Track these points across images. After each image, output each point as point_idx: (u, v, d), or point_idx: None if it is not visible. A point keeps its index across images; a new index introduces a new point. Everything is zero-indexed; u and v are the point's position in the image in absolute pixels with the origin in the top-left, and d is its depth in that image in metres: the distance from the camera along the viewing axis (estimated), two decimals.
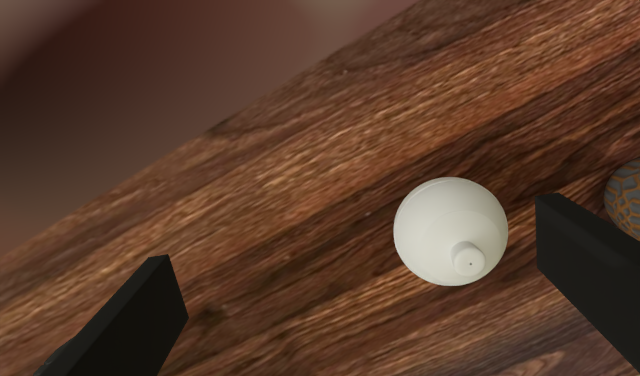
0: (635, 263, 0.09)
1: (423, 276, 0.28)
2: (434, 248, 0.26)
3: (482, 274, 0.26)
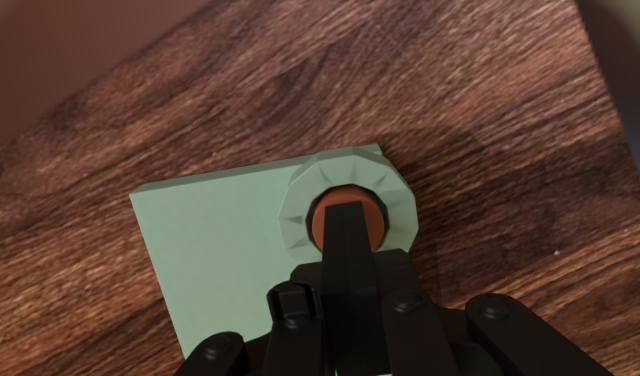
0: (348, 257, 0.12)
1: None
2: None
3: None
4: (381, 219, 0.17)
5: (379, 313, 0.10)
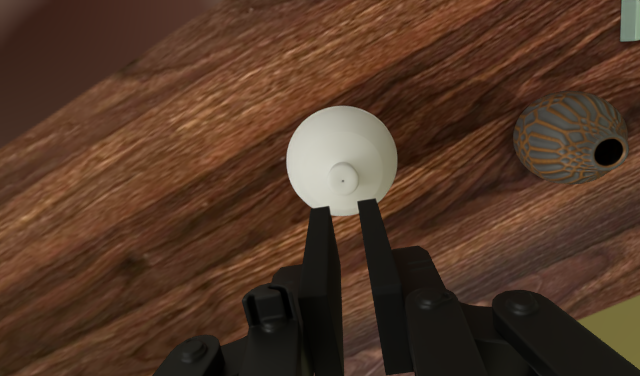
0: (367, 254, 0.12)
1: (312, 204, 0.28)
2: (314, 170, 0.26)
3: (366, 199, 0.26)
4: None
5: (402, 310, 0.10)
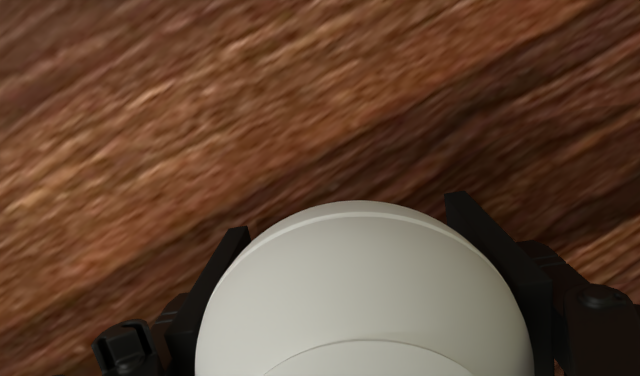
0: (491, 249, 0.11)
1: None
2: None
3: None
4: None
5: (549, 310, 0.09)
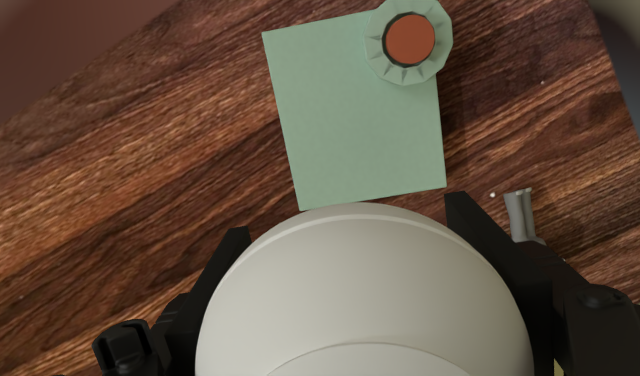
0: (491, 249, 0.11)
1: None
2: None
3: None
4: (433, 32, 0.26)
5: (549, 310, 0.09)
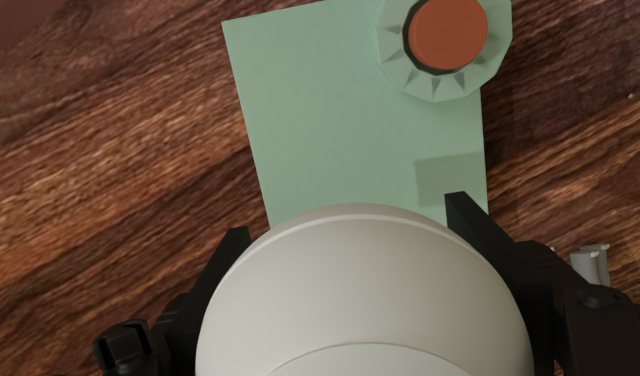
0: (491, 249, 0.11)
1: None
2: None
3: None
4: (485, 20, 0.17)
5: (549, 310, 0.09)
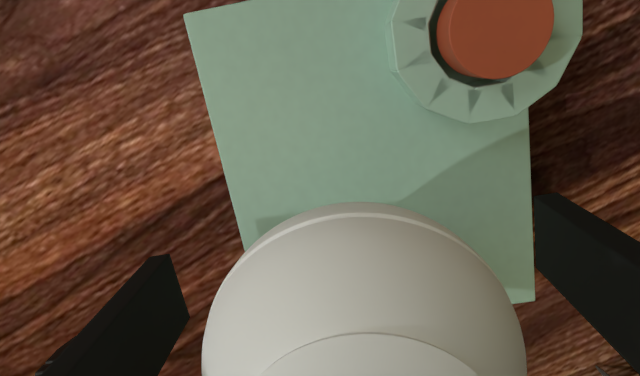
0: (633, 263, 0.09)
1: None
2: None
3: None
4: (552, 9, 0.12)
5: None
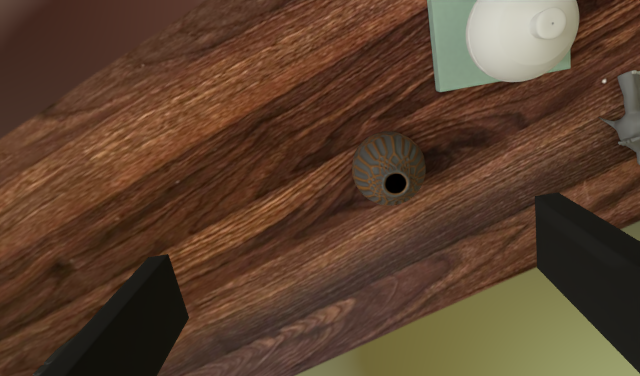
0: (635, 263, 0.09)
1: (498, 64, 0.30)
2: (513, 22, 0.27)
3: (556, 53, 0.28)
4: None
5: None
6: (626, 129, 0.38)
